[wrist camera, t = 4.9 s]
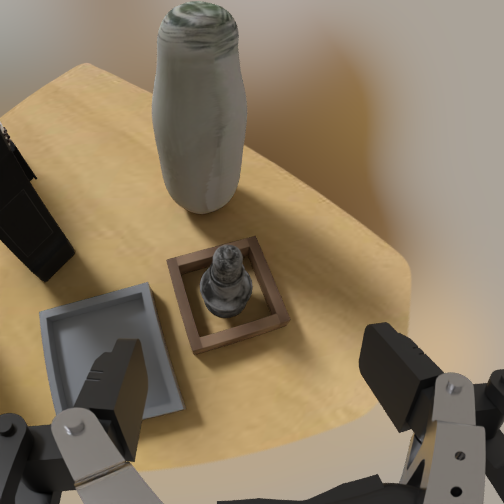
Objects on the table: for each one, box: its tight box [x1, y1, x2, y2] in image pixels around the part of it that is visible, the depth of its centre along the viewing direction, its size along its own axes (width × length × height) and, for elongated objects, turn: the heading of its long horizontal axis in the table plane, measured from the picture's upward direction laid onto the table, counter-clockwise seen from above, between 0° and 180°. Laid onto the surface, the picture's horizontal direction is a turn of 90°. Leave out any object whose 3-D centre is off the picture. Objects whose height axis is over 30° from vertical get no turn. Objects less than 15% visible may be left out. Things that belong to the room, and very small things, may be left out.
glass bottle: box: [152, 1, 247, 214], centre depth 33 cm, size 10×10×28 cm
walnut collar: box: [166, 236, 290, 355], centre depth 37 cm, size 11×11×2 cm
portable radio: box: [0, 129, 75, 282], centre depth 28 cm, size 8×6×25 cm
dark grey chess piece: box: [200, 245, 253, 318], centre depth 33 cm, size 6×6×12 cm
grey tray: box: [39, 282, 186, 420], centre depth 32 cm, size 15×15×2 cm
